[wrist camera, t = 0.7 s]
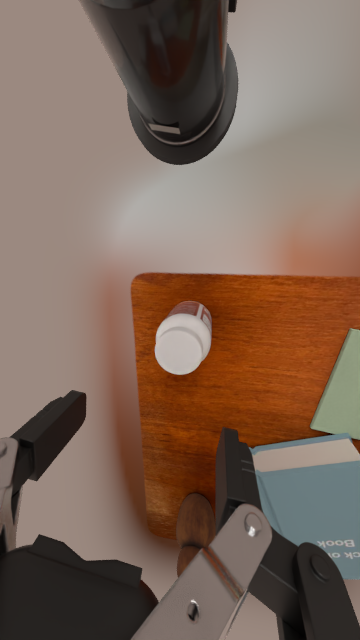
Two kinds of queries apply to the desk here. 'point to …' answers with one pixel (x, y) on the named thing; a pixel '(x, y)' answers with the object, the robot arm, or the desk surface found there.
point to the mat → (342, 392)
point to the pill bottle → (184, 338)
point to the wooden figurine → (194, 528)
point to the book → (314, 495)
